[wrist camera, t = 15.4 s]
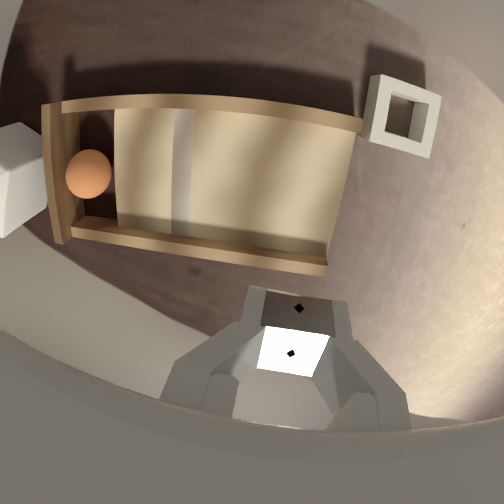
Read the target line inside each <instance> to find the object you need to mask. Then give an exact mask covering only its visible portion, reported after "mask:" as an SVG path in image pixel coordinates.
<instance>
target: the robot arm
mask: <svg viewBox="0 0 504 504" xmlns="http://www.w3.org/2000/svg"><path fill="white" fill-rule="evenodd" d="M257 368H261V369H267V370H275V371H282V372H284V371H285V372H288V373H294V374H300V375H307V376H312V377H311V378H312V380H313V381H314V383H315V385H316V386H317V388H318V390H319V392H320V393H321V395H322V397H323V398H324V400H325V402H326V404H327V406H328V407H329V409H330V411H331V412H332V414H333V416H334V419H333V421H332V422H331V423H330V424H329V425H328V427H327V428H326V429H325V430H317V429H305V428H296V427H287V426H279V425H271V424H265V423H258V422H252V421H246V420H241V419H235V418H233V414H234V408H235V403H236V397H237V391H238V387H239V386H240V385H241V384H242V383H243V382H244V381H245V380H246V379H247V378H248V377H249V376H250V375H251V374H252V373H253V372H254V371H255V370H256V369H257ZM0 504H504V416H503V417H499V418H495V419H490V420H485V421H480V422H474V423H469V424H462V425H456V426H448V427H440V428H431V429H420V430H412V428H411V422H410V416H409V410H408V405H407V399H406V394H405V392H404V391H403V390H402V389H401V388H400V387H399V386H398V384H397V383H396V382H395V381H394V380H393V379H392V378H391V377H390V375H389V374H388V373H387V372H386V371H385V370H384V369H383V368H382V367H381V365H380V364H379V363H378V362H377V361H376V360H375V359H374V358H373V357H372V355H371V354H370V353H369V352H368V351H367V350H366V349H365V348H364V347H363V346H362V344H361V343H360V342H359V341H358V340H353V334H352V328H351V321H350V315H349V309H348V304H347V302H346V301H339V300H331V299H330V300H328V299H321V298H315V297H309V296H303V295H298V294H293V293H288V292H283V291H278V290H273V289H268V288H267V291H266V288H262V287H257V286H252V285H250V287H249V289H248V293H247V297H246V301H245V305H244V309H243V313H242V317H241V321H240V322H238V321H235V322H233V323H232V324H230V325H229V326H227V327H226V328H224V329H223V330H221V331H220V332H218V333H217V334H215V335H214V336H212V337H211V338H209V339H208V340H207V341H205V342H203V343H202V344H200V345H199V346H197V347H196V348H194V349H193V350H191V351H190V352H188V353H187V354H185V355H184V356H182V357H180V358H179V359H177V360H176V361H175V362H174V365H173V367H172V369H171V372H170V374H169V376H168V379H167V381H166V384H165V386H164V389H163V391H162V393H161V396H160V398H159V399H156V398H152V397H149V396H146V395H143V394H140V393H137V392H134V391H131V390H129V389H126V388H123V387H120V386H118V385H115V384H112V383H110V382H107V381H105V380H102V379H100V378H97V377H95V376H92V375H90V374H88V373H85V372H83V371H81V370H79V369H76V368H74V367H72V366H70V365H67V364H65V363H63V362H61V361H59V360H57V359H55V358H53V357H51V356H49V355H47V354H45V353H43V352H41V351H40V350H38V349H36V348H34V347H32V346H30V345H28V344H26V343H25V342H23V341H21V340H19V339H18V338H16V337H15V336H13V335H11V334H10V333H7V332H6V331H5V330H3V329H1V328H0Z"/></svg>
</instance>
